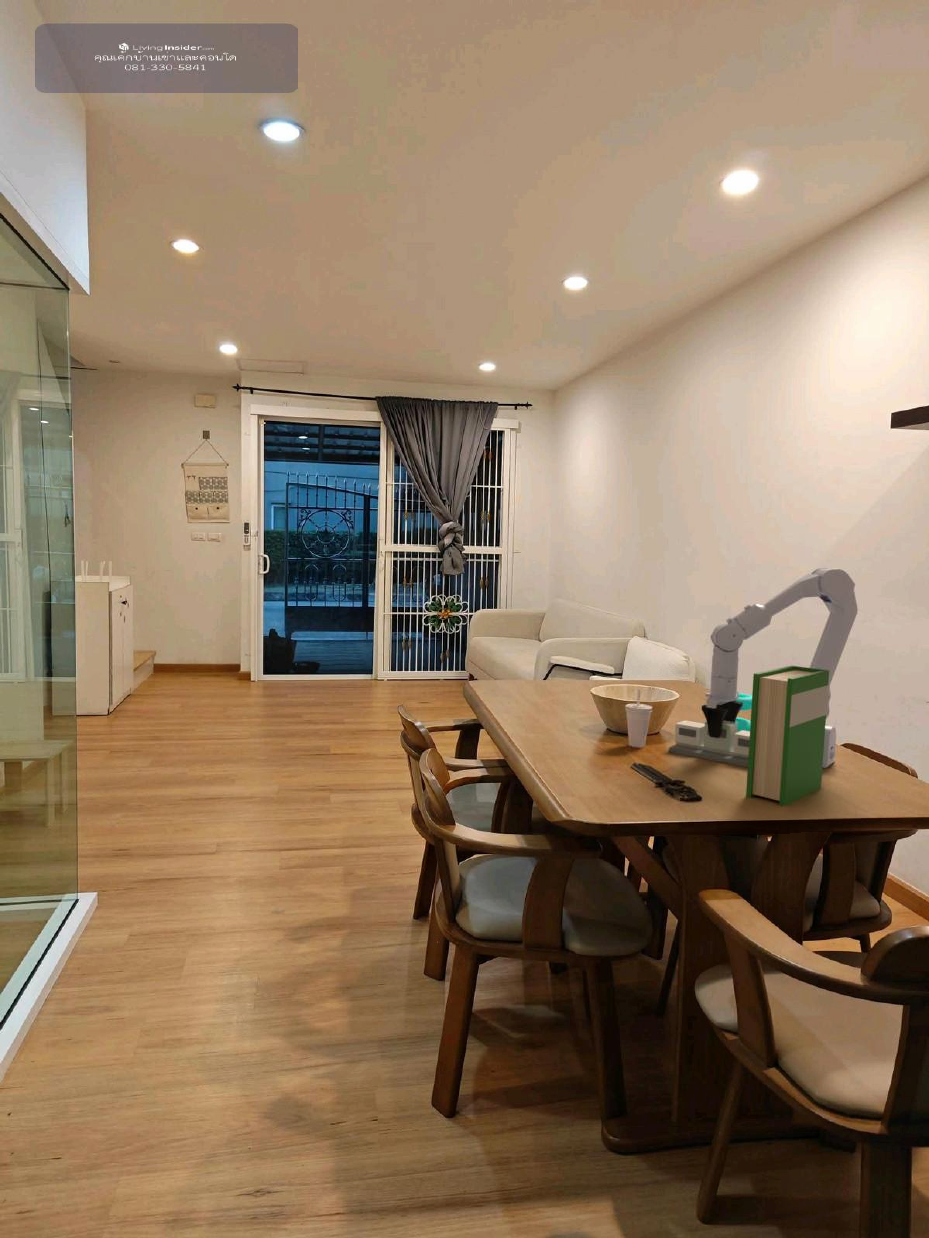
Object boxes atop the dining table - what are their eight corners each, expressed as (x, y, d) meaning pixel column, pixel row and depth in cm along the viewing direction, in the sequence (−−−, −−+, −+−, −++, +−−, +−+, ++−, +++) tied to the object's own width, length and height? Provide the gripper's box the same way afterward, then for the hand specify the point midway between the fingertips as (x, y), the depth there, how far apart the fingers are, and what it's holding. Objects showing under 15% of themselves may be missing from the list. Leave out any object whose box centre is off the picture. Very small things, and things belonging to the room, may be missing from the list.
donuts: (765, 696, 198) (741, 700, 192) (763, 734, 199) (738, 738, 193) (733, 690, 206) (709, 693, 201) (731, 726, 207) (706, 730, 202)
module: (736, 748, 176) (737, 722, 175) (728, 751, 172) (730, 725, 172) (710, 743, 180) (712, 718, 179) (703, 747, 176) (704, 721, 176)
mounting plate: (771, 759, 174) (773, 732, 174) (754, 768, 166) (756, 740, 165) (688, 743, 187) (689, 718, 186) (668, 751, 178) (670, 725, 178)
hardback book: (784, 806, 141) (792, 679, 139) (745, 796, 146) (753, 673, 144) (820, 787, 153) (829, 670, 151) (784, 779, 159) (791, 665, 156)
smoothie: (620, 746, 182) (622, 688, 181) (627, 740, 187) (630, 684, 186) (646, 750, 179) (649, 691, 178) (653, 744, 184) (656, 687, 183)
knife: (626, 766, 167) (627, 759, 167) (654, 765, 168) (655, 759, 168) (673, 804, 142) (673, 797, 142) (706, 803, 143) (706, 796, 143)
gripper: (719, 671, 183) (716, 726, 184) (694, 677, 172) (691, 736, 173) (748, 674, 178) (745, 731, 179) (725, 681, 167) (721, 742, 168)
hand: (720, 734), depth 176 cm, fingers open, 7 cm apart
